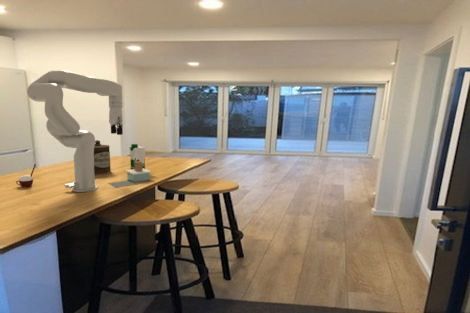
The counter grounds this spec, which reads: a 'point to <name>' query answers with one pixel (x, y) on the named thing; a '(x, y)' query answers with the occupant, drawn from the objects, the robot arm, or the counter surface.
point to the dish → (138, 177)
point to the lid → (138, 169)
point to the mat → (122, 184)
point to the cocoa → (26, 179)
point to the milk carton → (137, 155)
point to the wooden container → (101, 158)
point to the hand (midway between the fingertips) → (116, 134)
